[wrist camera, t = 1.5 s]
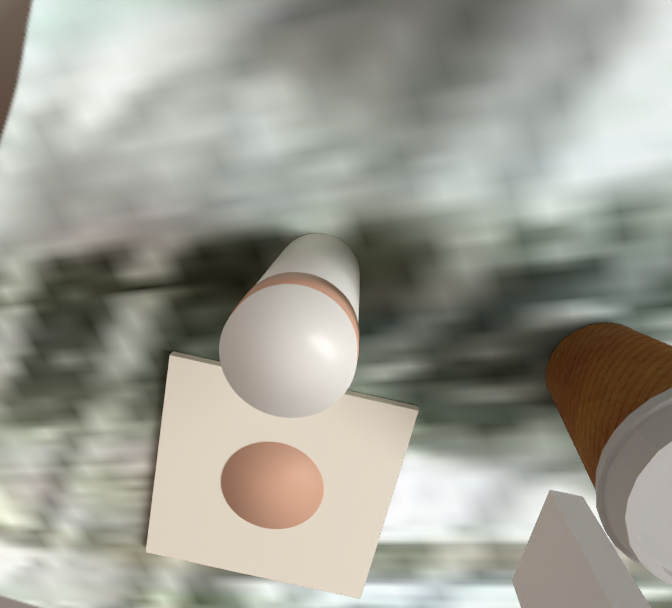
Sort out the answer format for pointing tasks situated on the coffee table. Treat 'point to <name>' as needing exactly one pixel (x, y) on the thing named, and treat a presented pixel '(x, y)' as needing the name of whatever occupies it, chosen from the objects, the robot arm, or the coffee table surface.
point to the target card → (273, 481)
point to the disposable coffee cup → (621, 433)
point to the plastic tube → (296, 330)
